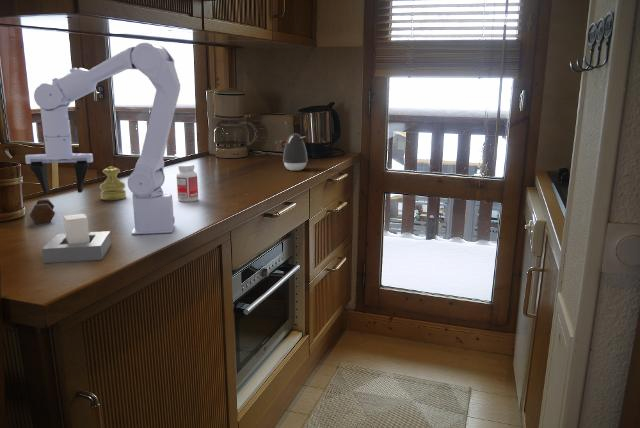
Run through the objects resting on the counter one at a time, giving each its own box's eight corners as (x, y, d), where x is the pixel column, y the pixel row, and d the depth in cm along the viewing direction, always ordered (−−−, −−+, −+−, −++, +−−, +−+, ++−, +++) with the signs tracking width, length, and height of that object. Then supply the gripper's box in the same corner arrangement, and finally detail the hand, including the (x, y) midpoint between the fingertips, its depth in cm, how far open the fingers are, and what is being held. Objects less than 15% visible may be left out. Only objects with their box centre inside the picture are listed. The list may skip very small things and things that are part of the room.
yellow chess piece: (97, 198, 166) (94, 166, 163) (119, 194, 171) (117, 164, 168) (107, 202, 161) (104, 169, 158) (130, 198, 166) (128, 166, 163)
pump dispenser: (300, 172, 215) (300, 134, 211) (278, 170, 219) (278, 133, 215) (312, 169, 224) (312, 132, 220) (290, 167, 228) (290, 131, 224)
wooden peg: (87, 248, 116) (84, 213, 114) (91, 253, 113) (87, 217, 111) (67, 251, 114) (63, 215, 112) (70, 256, 111) (66, 219, 109)
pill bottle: (198, 197, 167) (196, 163, 165) (198, 201, 162) (197, 166, 159) (178, 198, 166) (175, 163, 163) (177, 202, 160) (175, 166, 157)
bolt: (49, 217, 150) (47, 228, 137) (30, 210, 148) (26, 221, 134) (58, 199, 150) (57, 208, 137) (40, 191, 148) (37, 200, 134)
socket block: (111, 244, 119) (110, 231, 119) (101, 259, 109) (100, 245, 108) (58, 246, 117) (57, 233, 116) (44, 263, 107) (42, 248, 106)
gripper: (93, 134, 130) (98, 188, 134) (29, 134, 127) (36, 190, 131) (87, 136, 124) (92, 193, 127) (19, 137, 121) (27, 196, 124)
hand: (63, 192), depth 128 cm, fingers open, 7 cm apart
